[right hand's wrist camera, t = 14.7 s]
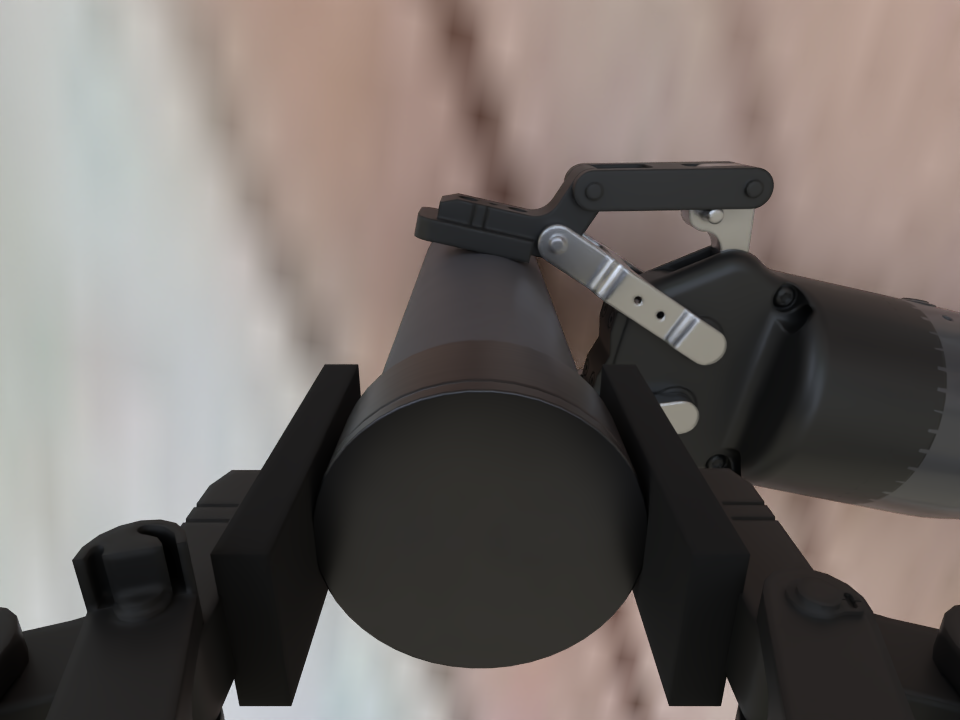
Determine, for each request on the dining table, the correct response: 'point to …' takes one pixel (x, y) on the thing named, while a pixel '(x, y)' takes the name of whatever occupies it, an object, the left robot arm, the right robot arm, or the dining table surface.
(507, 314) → the jar
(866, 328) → the left robot arm
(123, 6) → the dining table surface
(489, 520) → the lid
